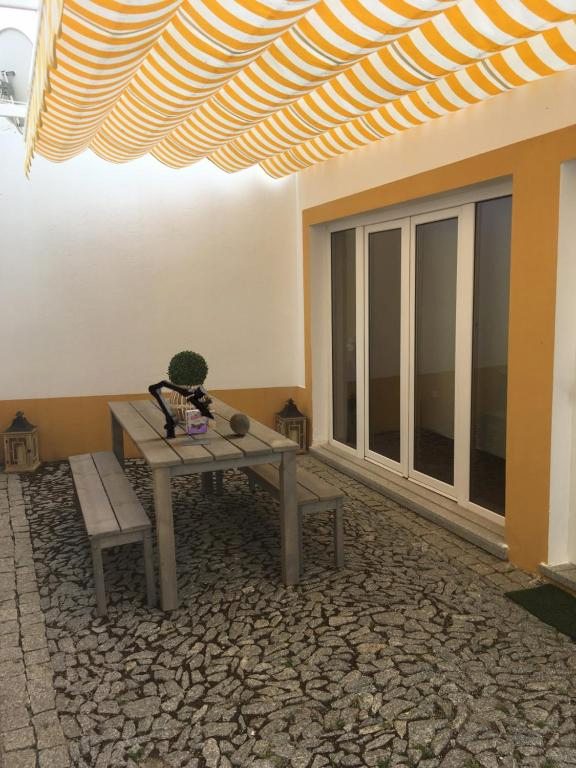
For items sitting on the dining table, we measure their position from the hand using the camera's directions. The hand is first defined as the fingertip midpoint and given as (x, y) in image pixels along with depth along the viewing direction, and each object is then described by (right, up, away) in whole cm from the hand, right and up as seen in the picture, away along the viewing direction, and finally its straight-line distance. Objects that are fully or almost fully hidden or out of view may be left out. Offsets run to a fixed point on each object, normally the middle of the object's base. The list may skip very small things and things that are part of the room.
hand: (214, 418), depth 435 cm
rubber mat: (-11, -15, -11) cm, 22 cm away
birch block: (-1, -7, +1) cm, 7 cm away
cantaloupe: (+17, -12, +9) cm, 23 cm away
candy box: (-14, -12, +18) cm, 25 cm away
